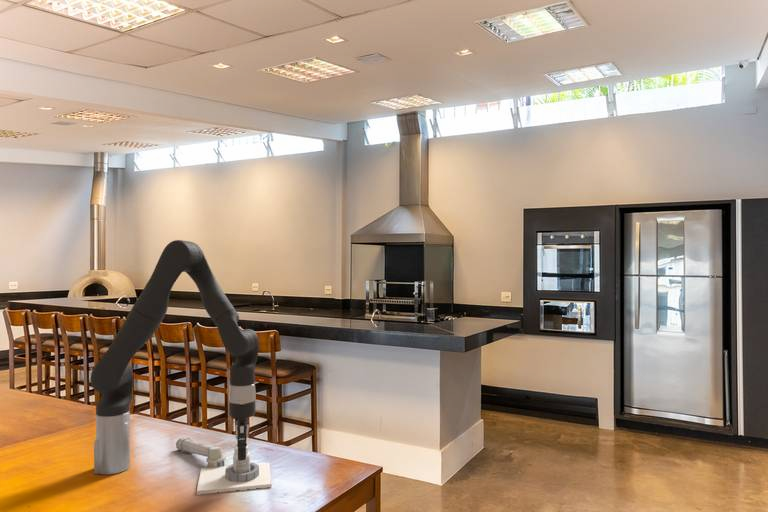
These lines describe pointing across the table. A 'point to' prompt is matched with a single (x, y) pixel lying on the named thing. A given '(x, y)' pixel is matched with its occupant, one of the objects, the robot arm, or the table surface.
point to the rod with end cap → (202, 451)
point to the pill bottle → (241, 462)
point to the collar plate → (223, 485)
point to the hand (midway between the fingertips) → (242, 454)
